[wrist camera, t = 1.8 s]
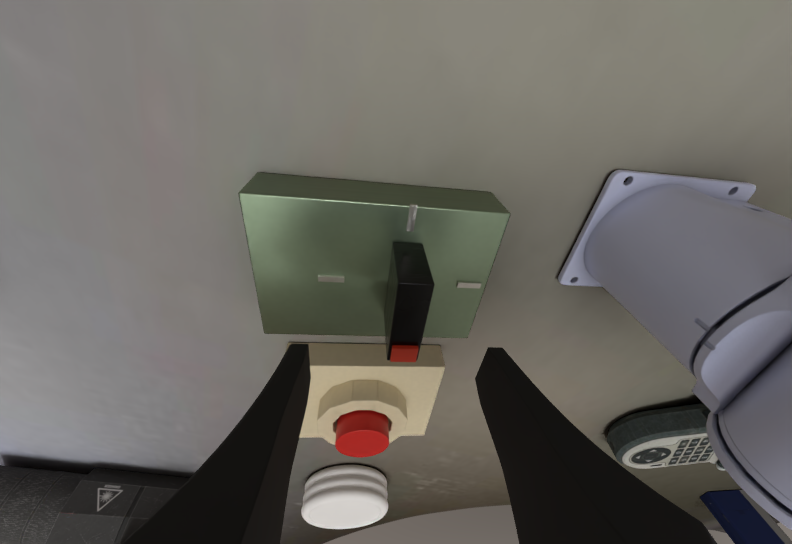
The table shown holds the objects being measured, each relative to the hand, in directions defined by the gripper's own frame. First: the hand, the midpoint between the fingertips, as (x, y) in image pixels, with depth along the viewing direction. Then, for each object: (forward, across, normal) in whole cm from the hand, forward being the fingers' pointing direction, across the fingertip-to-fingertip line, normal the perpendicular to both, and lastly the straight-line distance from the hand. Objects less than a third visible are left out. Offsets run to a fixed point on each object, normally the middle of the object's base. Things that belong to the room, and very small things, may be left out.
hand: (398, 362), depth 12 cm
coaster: (+9, +2, +34) cm, 35 cm away
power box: (+9, +1, +14) cm, 16 cm away
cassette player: (+9, -61, +44) cm, 76 cm away
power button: (+5, +1, +14) cm, 15 cm away
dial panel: (+9, +1, 0) cm, 9 cm away
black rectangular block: (+6, -1, 0) cm, 6 cm away
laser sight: (+9, +25, +31) cm, 40 cm away
